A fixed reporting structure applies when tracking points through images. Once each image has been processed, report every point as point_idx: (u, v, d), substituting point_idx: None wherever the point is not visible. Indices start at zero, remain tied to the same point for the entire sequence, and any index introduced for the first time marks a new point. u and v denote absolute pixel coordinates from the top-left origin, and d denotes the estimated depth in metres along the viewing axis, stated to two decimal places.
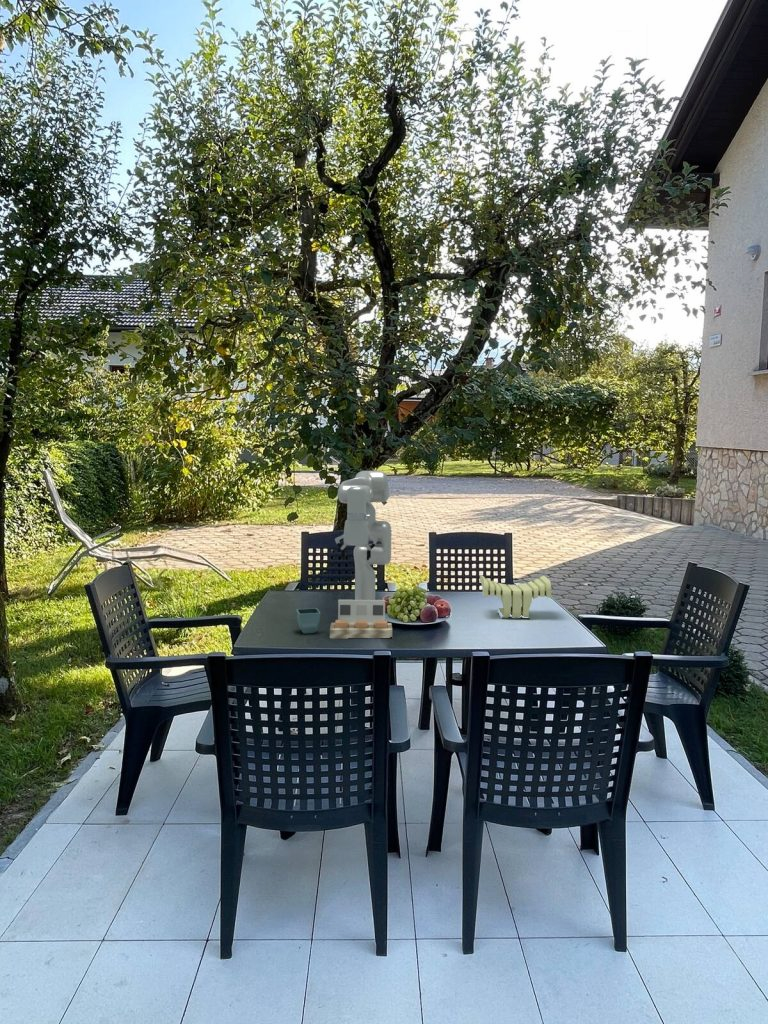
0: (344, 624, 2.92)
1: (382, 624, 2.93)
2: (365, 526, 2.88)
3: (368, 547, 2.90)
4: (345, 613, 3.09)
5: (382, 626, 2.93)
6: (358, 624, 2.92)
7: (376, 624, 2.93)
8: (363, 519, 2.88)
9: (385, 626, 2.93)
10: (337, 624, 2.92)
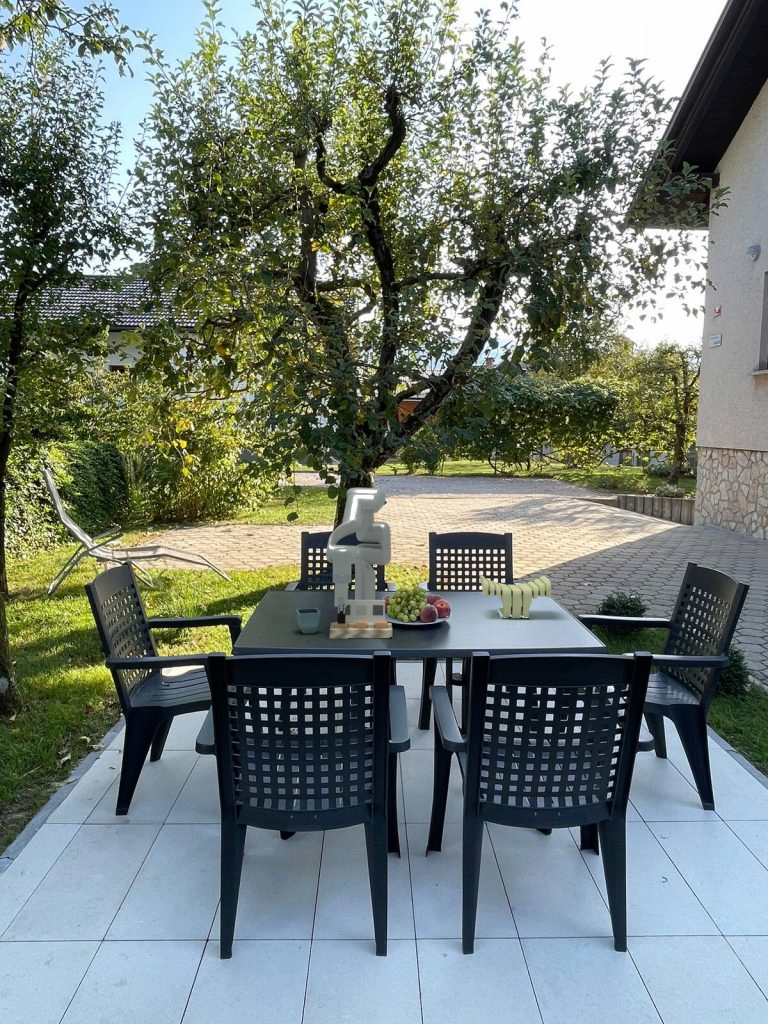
0: (344, 626, 2.92)
1: (382, 624, 2.93)
2: None
3: (344, 610, 2.95)
4: None
5: (382, 626, 2.93)
6: (358, 624, 2.92)
7: (376, 624, 2.93)
8: None
9: (385, 626, 2.93)
10: (337, 626, 2.92)
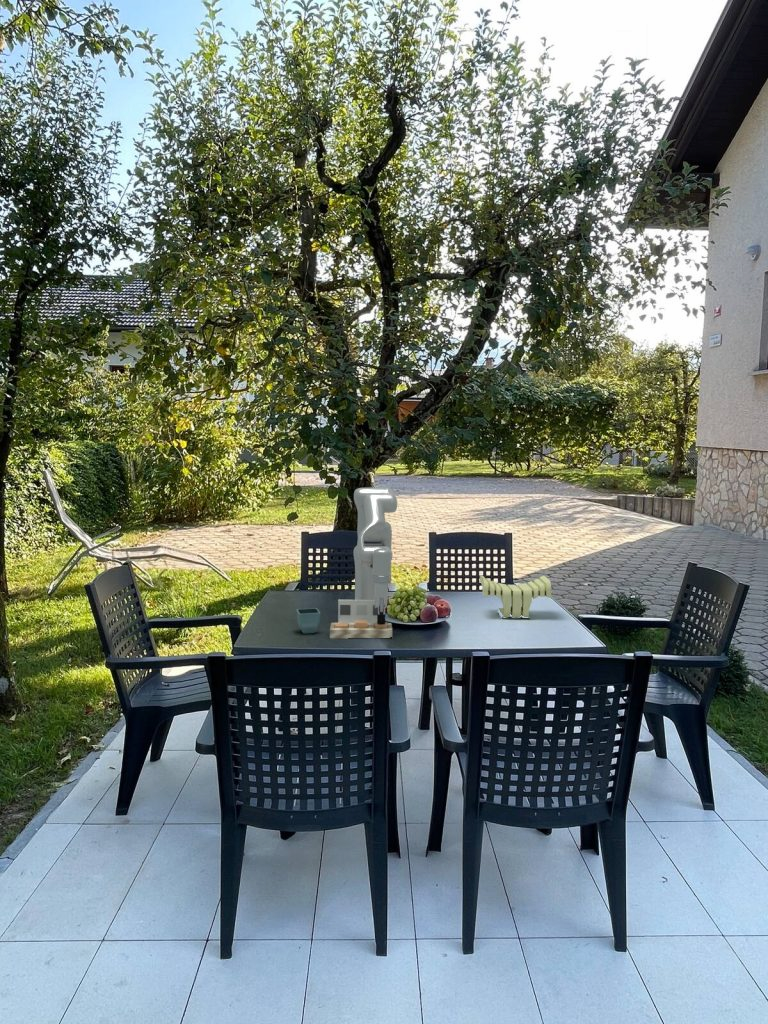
0: (344, 627, 2.92)
1: (382, 626, 2.93)
2: None
3: None
4: (345, 613, 3.09)
5: None
6: (358, 624, 2.92)
7: (376, 626, 2.93)
8: None
9: None
10: (337, 627, 2.92)
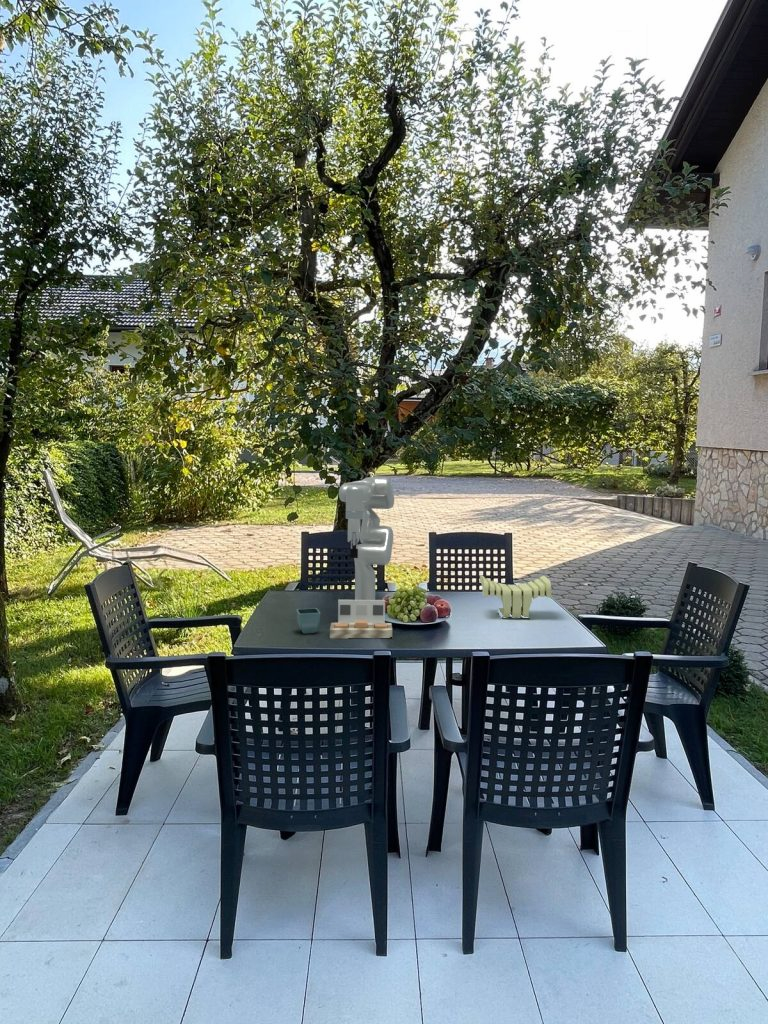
0: (344, 627, 2.92)
1: (382, 627, 2.93)
2: None
3: None
4: (345, 613, 3.09)
5: None
6: (358, 624, 2.92)
7: (376, 627, 2.93)
8: None
9: None
10: (337, 627, 2.92)
